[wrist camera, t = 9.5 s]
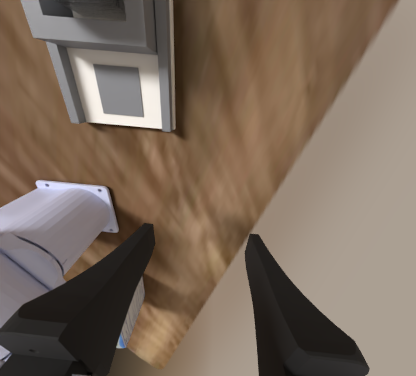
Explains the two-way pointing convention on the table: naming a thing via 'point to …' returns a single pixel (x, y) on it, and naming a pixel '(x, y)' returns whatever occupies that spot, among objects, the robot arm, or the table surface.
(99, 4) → the steel square block
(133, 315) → the medicine box
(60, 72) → the frame
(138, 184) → the table surface
